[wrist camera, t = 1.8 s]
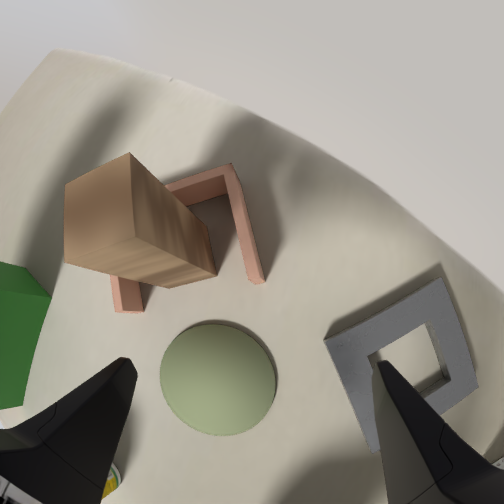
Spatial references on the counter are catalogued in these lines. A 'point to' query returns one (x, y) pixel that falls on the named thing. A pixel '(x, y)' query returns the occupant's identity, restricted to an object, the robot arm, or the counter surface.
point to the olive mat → (217, 380)
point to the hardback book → (18, 330)
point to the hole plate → (392, 328)
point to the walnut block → (133, 227)
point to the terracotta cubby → (188, 194)
